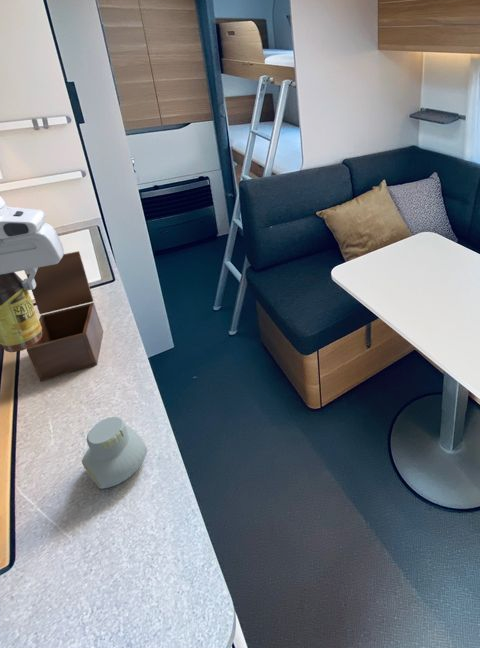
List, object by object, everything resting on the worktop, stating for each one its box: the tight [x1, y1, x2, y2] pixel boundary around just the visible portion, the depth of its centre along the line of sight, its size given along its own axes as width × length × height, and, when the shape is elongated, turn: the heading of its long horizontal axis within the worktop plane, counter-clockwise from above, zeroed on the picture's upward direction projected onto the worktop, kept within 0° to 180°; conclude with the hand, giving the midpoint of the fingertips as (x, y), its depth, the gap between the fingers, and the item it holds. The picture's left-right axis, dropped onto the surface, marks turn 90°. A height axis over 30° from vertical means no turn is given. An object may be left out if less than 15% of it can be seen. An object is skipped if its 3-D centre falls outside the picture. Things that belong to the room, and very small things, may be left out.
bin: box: [25, 302, 104, 382], centre depth 103 cm, size 14×12×10 cm
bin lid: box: [25, 250, 94, 315], centre depth 107 cm, size 14×12×5 cm
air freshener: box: [81, 416, 148, 489], centre depth 76 cm, size 11×8×10 cm
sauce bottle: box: [0, 272, 42, 353], centre depth 75 cm, size 6×6×20 cm
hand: (5, 293), depth 75 cm, fingers closed on sauce bottle, 6 cm apart
